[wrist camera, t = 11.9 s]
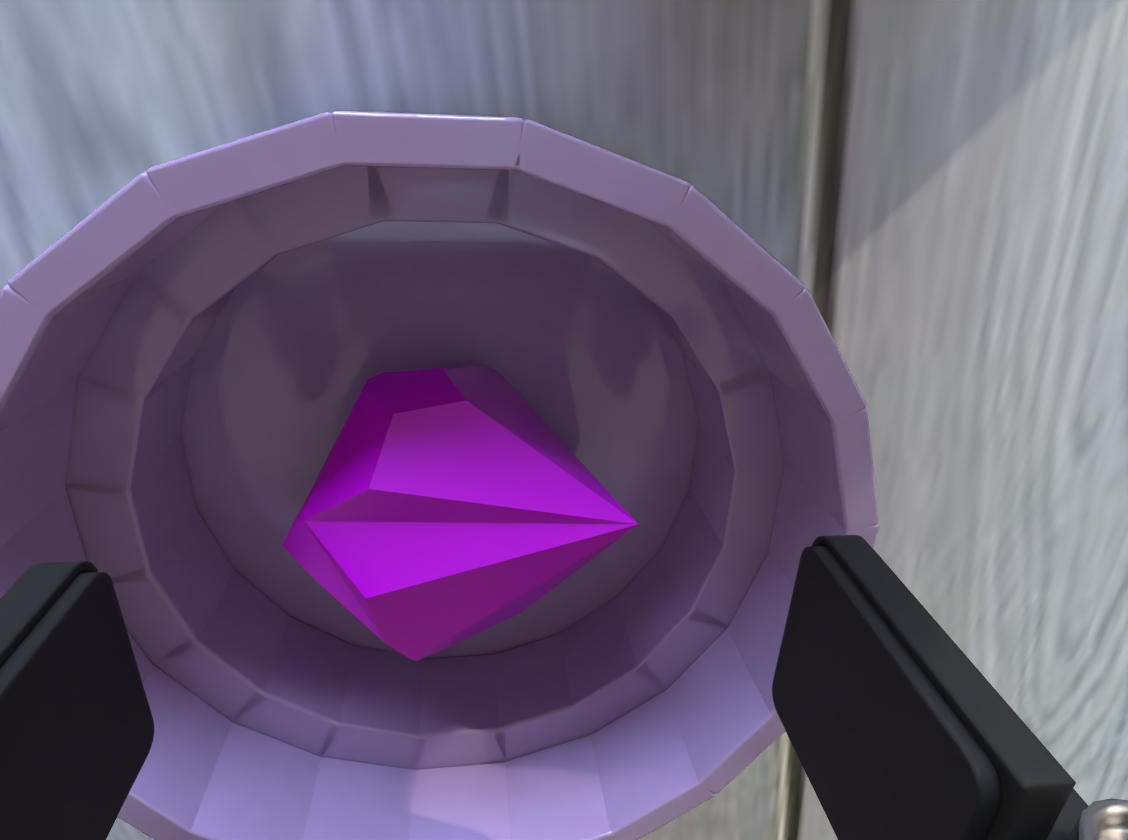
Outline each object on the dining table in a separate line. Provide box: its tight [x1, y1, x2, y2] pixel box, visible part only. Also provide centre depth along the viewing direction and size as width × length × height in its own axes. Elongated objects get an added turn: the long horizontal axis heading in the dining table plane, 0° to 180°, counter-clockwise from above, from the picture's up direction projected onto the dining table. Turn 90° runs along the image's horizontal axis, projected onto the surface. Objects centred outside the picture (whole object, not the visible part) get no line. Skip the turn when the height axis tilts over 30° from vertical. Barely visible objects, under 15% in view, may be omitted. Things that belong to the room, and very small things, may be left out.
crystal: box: [282, 364, 638, 661], centre depth 13 cm, size 5×5×5 cm
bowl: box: [0, 111, 879, 840], centre depth 13 cm, size 14×14×6 cm
